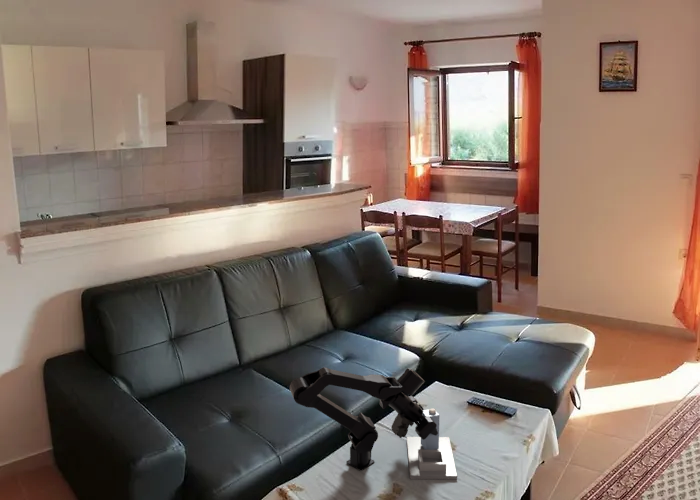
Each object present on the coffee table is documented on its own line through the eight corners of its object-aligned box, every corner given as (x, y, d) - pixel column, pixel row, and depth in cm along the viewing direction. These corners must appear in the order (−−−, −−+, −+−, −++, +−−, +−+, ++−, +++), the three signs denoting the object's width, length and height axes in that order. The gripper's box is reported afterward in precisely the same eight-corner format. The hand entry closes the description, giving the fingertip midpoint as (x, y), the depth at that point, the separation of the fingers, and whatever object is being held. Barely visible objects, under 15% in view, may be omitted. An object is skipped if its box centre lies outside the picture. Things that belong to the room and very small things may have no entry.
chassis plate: (457, 479, 195) (457, 468, 194) (410, 478, 196) (410, 468, 195) (448, 440, 216) (449, 430, 215) (406, 440, 217) (406, 430, 216)
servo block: (425, 451, 207) (426, 414, 204) (420, 443, 212) (421, 408, 208) (438, 448, 209) (439, 412, 205) (433, 441, 213) (434, 406, 209)
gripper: (375, 409, 212) (406, 434, 218) (394, 438, 195) (428, 465, 200) (398, 384, 212) (429, 410, 218) (419, 410, 195) (452, 438, 200)
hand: (434, 430), depth 209 cm, fingers closed on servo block, 4 cm apart
